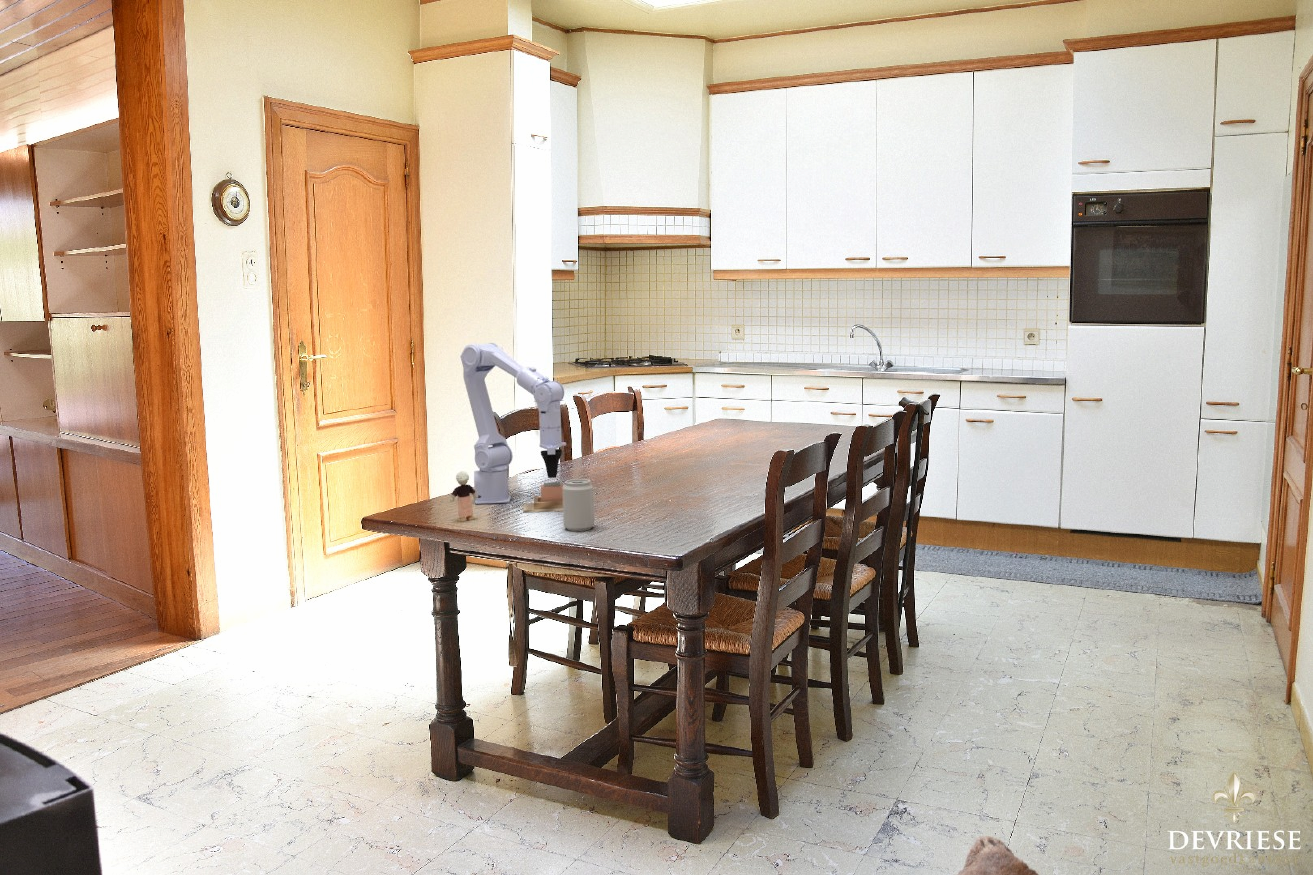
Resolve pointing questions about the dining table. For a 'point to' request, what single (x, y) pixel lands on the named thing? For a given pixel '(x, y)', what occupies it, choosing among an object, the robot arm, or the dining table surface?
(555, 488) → the salmon block
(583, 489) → the can
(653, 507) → the dining table surface
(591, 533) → the dining table surface
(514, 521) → the dining table surface
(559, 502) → the frame
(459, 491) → the grandmother figurine
